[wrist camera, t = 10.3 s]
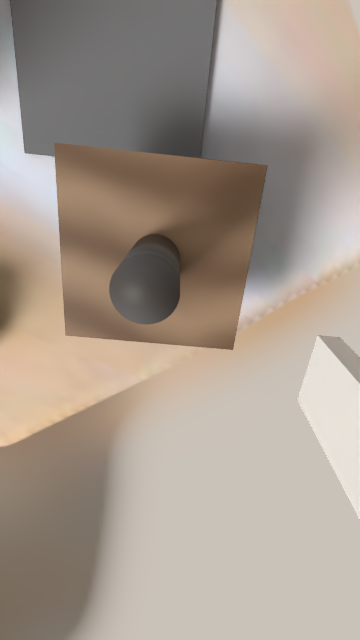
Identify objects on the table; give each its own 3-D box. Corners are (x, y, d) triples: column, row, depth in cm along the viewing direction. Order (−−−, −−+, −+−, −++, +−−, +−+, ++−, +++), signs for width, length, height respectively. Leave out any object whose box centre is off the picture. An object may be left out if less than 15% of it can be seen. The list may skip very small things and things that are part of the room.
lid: (59, 144, 22) (-12, 122, 14) (264, 166, 23) (310, 157, 15) (69, 330, 28) (23, 390, 20) (231, 344, 29) (251, 408, 21)
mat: (3, -97, 22) (0, -103, 22) (223, -68, 23) (224, -73, 23) (27, 153, 29) (24, 152, 28) (198, 171, 29) (198, 171, 29)
